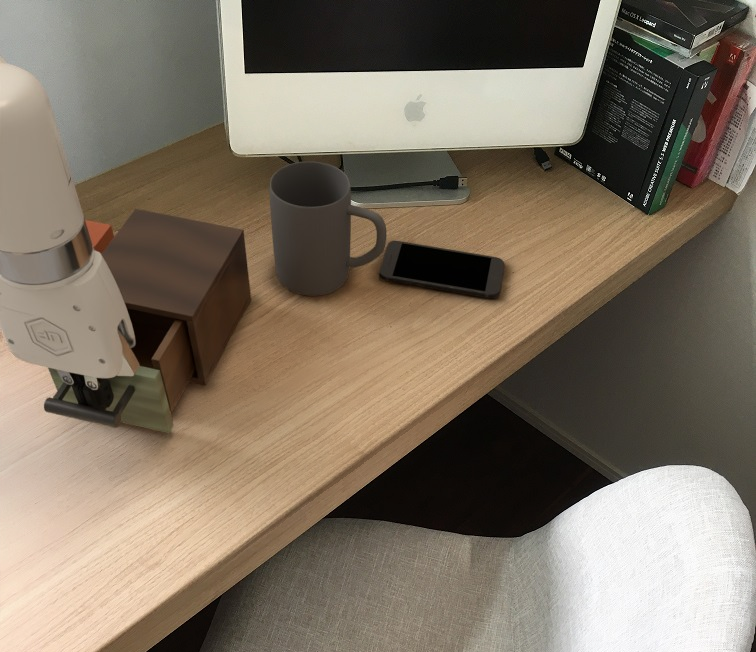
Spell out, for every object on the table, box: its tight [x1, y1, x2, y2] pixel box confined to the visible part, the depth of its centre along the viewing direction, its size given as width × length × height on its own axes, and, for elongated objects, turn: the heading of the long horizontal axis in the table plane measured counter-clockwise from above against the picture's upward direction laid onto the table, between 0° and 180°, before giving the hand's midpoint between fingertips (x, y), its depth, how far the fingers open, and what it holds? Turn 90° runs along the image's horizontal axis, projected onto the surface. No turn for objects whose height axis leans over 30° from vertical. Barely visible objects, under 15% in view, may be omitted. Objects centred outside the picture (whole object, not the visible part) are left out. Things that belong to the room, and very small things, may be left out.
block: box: [85, 219, 115, 254], centre depth 94 cm, size 4×4×4 cm
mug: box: [269, 161, 388, 297], centre depth 91 cm, size 14×9×12 cm
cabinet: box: [101, 208, 252, 386], centre depth 85 cm, size 15×13×10 cm
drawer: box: [43, 308, 196, 434], centre depth 79 cm, size 18×11×8 cm, turn 166°
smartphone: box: [378, 240, 506, 299], centre depth 97 cm, size 7×15×1 cm, turn 79°
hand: (98, 406), depth 75 cm, fingers closed
